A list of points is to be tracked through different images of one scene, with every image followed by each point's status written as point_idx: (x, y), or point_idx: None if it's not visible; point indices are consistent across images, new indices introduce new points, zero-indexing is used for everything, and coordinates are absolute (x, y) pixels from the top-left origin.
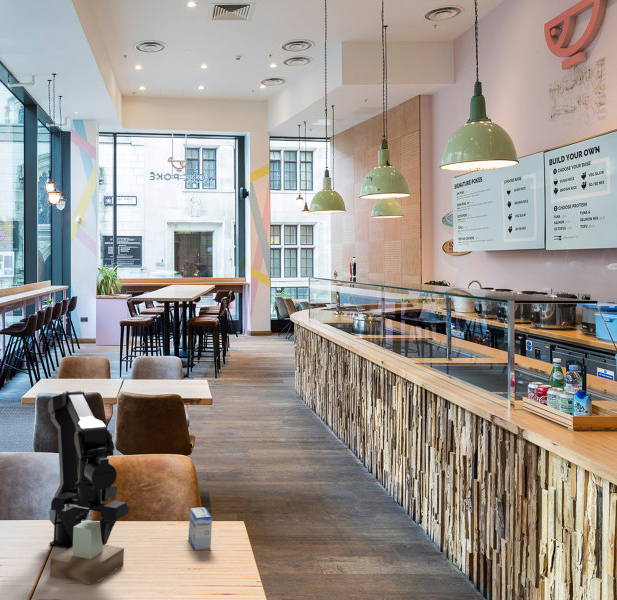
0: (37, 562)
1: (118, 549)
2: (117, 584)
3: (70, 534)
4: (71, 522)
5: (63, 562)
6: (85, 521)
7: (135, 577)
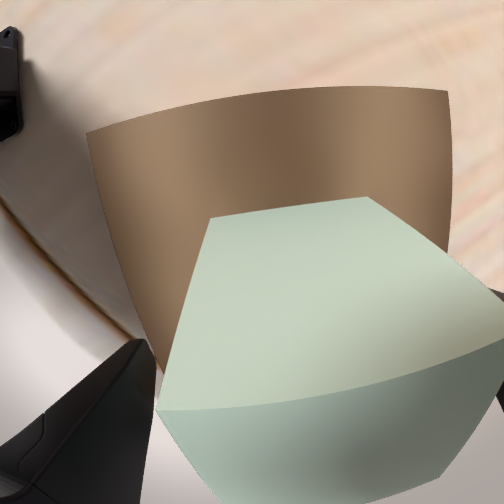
0: (50, 294)
1: (434, 122)
2: (467, 264)
3: (148, 406)
4: (111, 488)
5: None
6: (210, 452)
7: (494, 187)
